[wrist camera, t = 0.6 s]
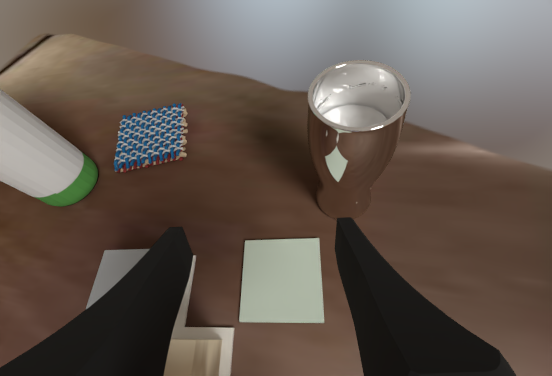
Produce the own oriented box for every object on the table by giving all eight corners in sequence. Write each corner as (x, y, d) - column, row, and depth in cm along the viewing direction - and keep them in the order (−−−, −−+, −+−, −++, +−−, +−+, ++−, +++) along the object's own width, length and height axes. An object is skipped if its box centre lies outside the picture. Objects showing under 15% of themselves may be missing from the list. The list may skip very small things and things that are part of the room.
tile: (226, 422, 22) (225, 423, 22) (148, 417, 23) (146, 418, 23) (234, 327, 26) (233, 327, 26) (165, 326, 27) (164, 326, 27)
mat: (324, 322, 25) (324, 322, 25) (239, 322, 26) (239, 321, 26) (318, 239, 29) (318, 238, 29) (245, 241, 30) (245, 240, 30)
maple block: (215, 407, 23) (183, 427, 18) (160, 404, 24) (114, 423, 18) (222, 339, 25) (196, 339, 20) (171, 338, 26) (134, 338, 21)
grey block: (175, 315, 27) (141, 310, 22) (129, 315, 28) (85, 309, 22) (184, 264, 29) (155, 248, 24) (142, 265, 30) (104, 250, 25)
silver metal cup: (302, 211, 31) (287, 117, 18) (325, 163, 33) (326, 51, 20) (363, 234, 28) (398, 146, 15) (382, 180, 31) (426, 66, 18)
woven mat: (190, 107, 43) (184, 98, 41) (189, 162, 37) (182, 153, 36) (127, 122, 43) (118, 113, 41) (117, 178, 38) (107, 170, 36)
